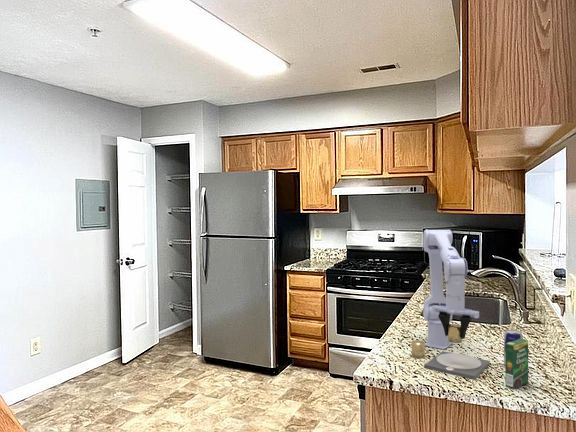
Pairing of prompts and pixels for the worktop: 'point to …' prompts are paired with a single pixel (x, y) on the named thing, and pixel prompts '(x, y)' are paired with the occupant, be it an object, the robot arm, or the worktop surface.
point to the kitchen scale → (457, 364)
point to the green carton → (516, 363)
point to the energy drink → (510, 339)
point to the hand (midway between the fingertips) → (455, 336)
